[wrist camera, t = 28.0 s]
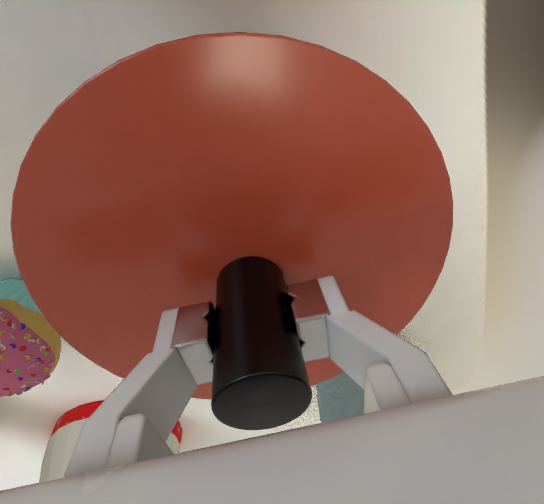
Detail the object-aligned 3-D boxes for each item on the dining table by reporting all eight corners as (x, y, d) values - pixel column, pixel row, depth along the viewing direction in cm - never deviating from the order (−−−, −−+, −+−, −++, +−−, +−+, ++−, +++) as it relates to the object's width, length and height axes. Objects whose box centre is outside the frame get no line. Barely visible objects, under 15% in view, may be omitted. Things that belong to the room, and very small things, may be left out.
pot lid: (105, 393, 15) (53, 545, 11) (-82, 29, 7) (-647, 6, 3) (388, 364, 17) (450, 486, 12) (503, 35, 9) (819, 29, 4)
